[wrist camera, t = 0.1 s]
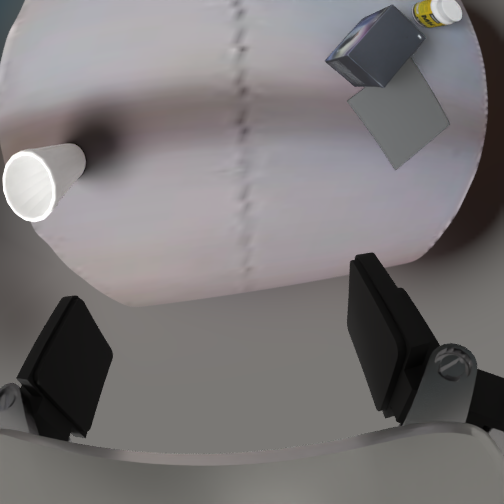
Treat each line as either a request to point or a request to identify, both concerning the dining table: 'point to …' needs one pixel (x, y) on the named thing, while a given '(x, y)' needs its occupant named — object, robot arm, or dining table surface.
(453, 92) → the dining table surface
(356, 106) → the mat
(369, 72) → the small box
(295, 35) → the dining table surface
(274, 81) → the dining table surface
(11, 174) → the cup
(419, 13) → the supplement bottle
